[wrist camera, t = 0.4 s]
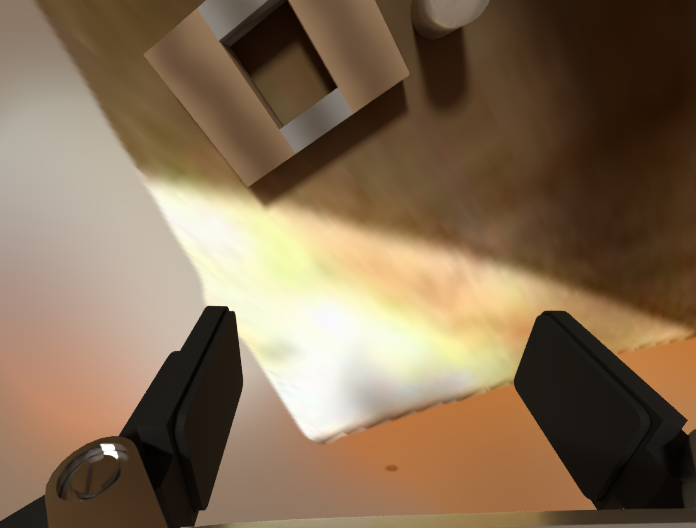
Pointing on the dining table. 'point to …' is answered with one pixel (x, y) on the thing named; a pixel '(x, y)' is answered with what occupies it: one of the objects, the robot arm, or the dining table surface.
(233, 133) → the frame
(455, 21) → the white glossy cylinder
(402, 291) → the dining table surface
